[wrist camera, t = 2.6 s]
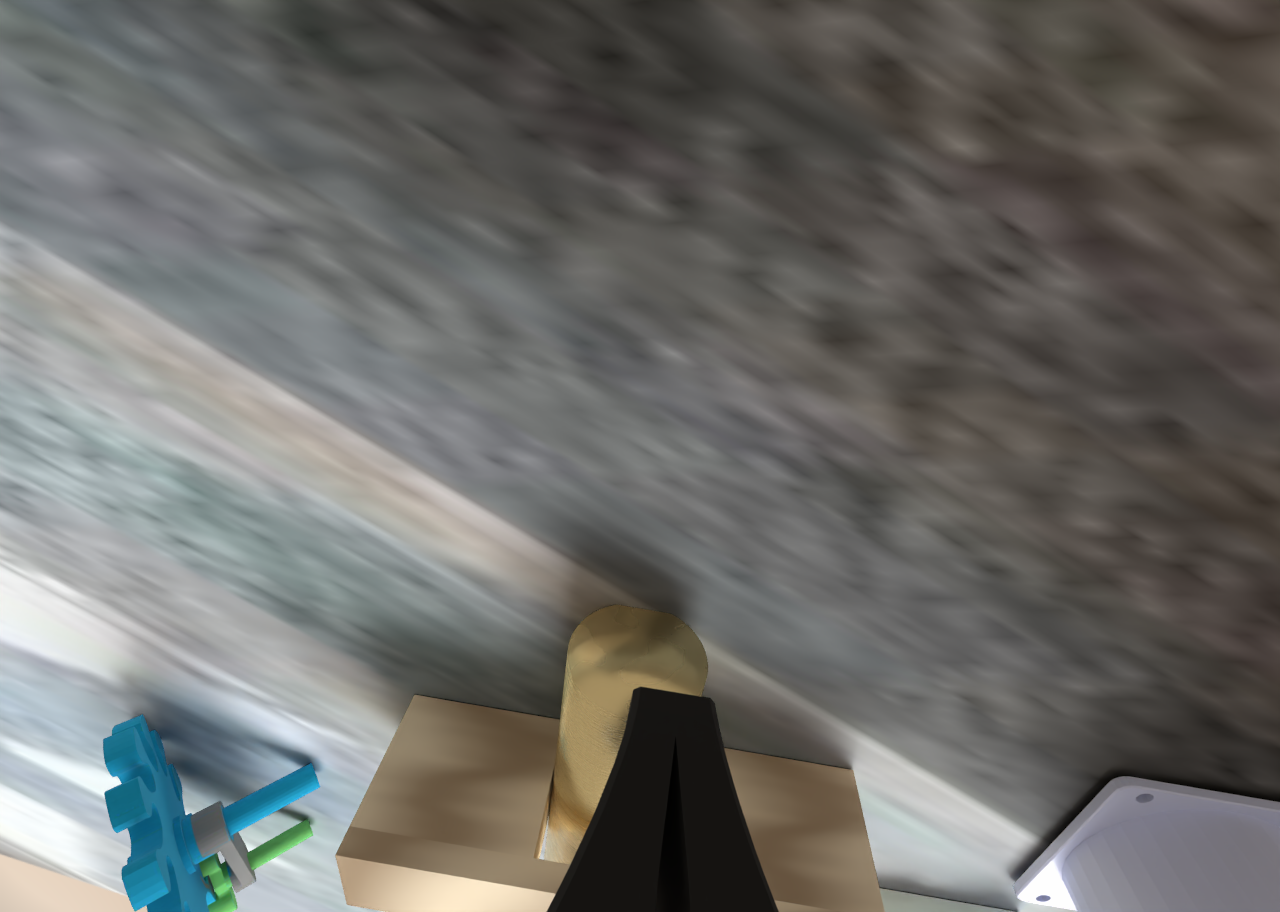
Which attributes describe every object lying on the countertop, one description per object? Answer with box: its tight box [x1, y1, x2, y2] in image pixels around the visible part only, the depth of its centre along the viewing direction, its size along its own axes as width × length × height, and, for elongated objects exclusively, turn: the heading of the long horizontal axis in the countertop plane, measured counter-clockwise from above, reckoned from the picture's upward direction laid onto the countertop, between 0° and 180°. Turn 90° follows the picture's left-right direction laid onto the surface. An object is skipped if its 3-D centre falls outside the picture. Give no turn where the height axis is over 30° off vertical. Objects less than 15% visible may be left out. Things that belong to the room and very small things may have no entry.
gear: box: [103, 714, 320, 912], centre depth 23 cm, size 11×6×10 cm
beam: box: [335, 695, 885, 912], centre depth 20 cm, size 16×3×5 cm, turn 82°
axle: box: [544, 605, 708, 864], centre depth 20 cm, size 12×4×4 cm, turn 172°
